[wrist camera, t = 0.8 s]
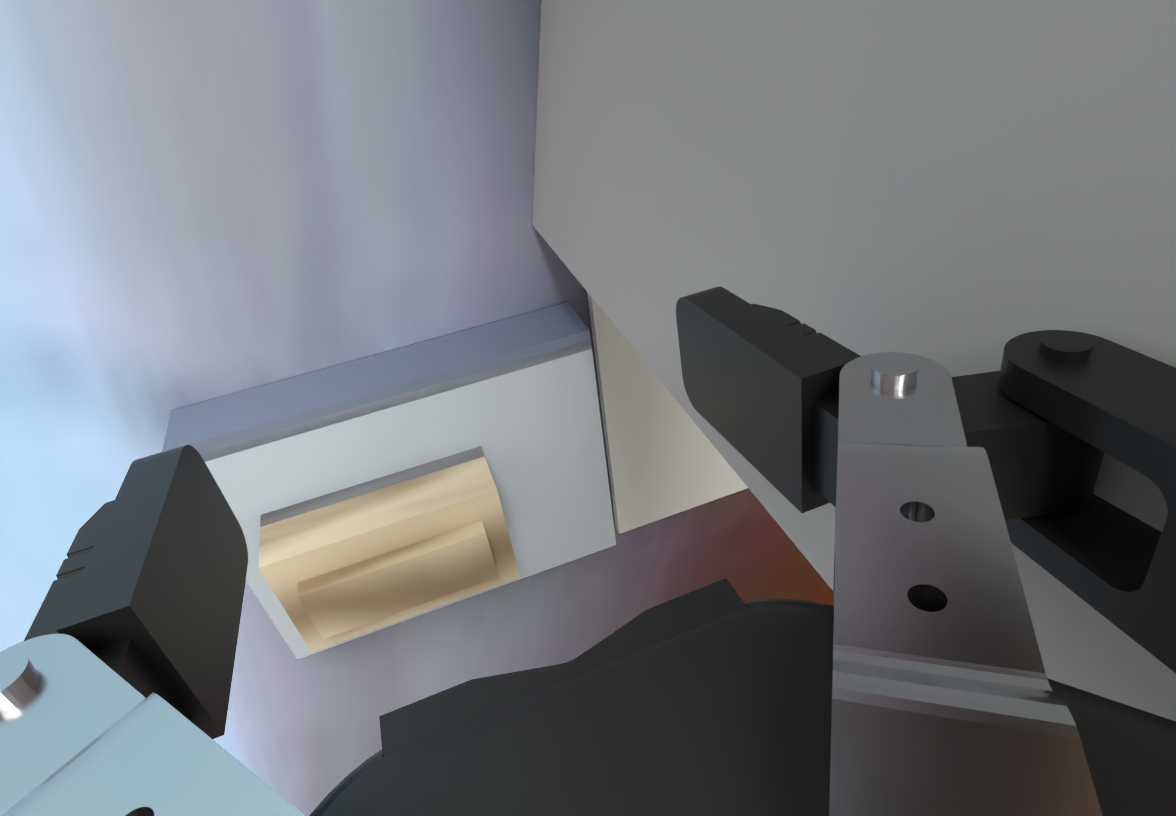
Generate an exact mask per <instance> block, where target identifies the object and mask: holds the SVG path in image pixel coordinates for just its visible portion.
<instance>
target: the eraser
mask: <svg viewBox="0 0 1176 816" xmlns="http://www.w3.org/2000/svg"><path fill="white" fill-rule="evenodd" d="M259 569H260V571H261V572H262V574H263V576H264V577H265V579H266V580H267V582H268V584H269V585H270V587H271V588H272V590H273V592H274V593H275V595H276V596H277V598H278V600H279V601H280V603H281V604H282V606H283V608H284V609H285V611H286V612H287V614H288V616H289V617H290V619H291V620H292V622H293V624H294V625H295V627H296V628H297V630H298V632H299V633H300V635H301V637H302V638H303V640H304V641H305V643H306V645H307V646H308V648H309V649H310V651H311V652H313V651H316V650H319V649H322V648H325V647H327V646H330V645H333V644H336V643H338V642H341V641H344V640H347V639H350V638H352V637H355V636H358V635H361V634H364V633H366V632H369V631H372V630H375V629H377V628H380V627H383V626H386V625H389V624H391V623H394V622H397V621H400V620H403V619H405V618H408V617H411V616H414V615H416V614H419V613H422V612H425V611H428V610H430V609H433V608H436V607H439V606H442V605H444V604H447V603H450V602H453V601H455V600H458V599H461V598H464V597H467V596H469V595H472V594H475V593H478V592H481V591H483V590H486V589H489V588H492V587H494V586H497V585H500V584H503V583H506V582H508V581H511V580H514V579H517V578H520V574H519V571H518V567H517V563H516V559H515V555H514V552H513V548H512V544H511V540H510V537H509V533H508V529H507V525H506V521H505V518H504V514H503V510H502V506H501V503H500V499H499V495H498V491H497V488H496V485H495V483H494V480H493V477H492V475H491V472H490V469H489V467H488V464H487V461H486V459H485V456H484V454H483V451H482V448H481V446H479V447H476V448H473V449H470V450H467V451H463V452H460V453H457V454H454V455H451V456H447V457H444V458H441V459H438V460H435V461H431V462H428V463H425V464H422V465H419V466H415V467H412V468H409V469H406V470H403V471H399V472H396V473H393V474H390V475H387V476H383V477H380V478H377V479H374V480H371V481H367V482H364V483H361V484H358V485H355V486H351V487H348V488H345V489H342V490H339V491H335V492H332V493H329V494H326V495H323V496H319V497H316V498H313V499H310V500H307V501H303V502H300V503H297V504H294V505H291V506H287V507H284V508H281V509H278V510H275V511H271V512H268V513H265V514H262V515H261V517H260V544H259Z"/></svg>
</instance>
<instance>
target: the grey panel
mask: <svg viewBox="0 0 1176 816" xmlns="http://www.w3.org/2000/svg"><path fill="white" fill-rule="evenodd" d="M532 225H533V226H534V228H535V229H536V230H537V231H538V233H539V234H540V235H541V236H542V237H543V239H544V240H545V241H546V242H547V243H548V245H549V246H550V247H551V248H552V250H553V251H554V252H555V253H556V254H557V256H558V257H559V258H560V259H561V261H562V262H563V263H564V264H565V265H566V267H567V268H568V269H569V270H570V271H571V273H572V274H573V275H574V276H575V278H576V279H577V280H578V281H579V282H580V284H581V285H582V286H583V287H584V288H585V290H586V291H587V292H588V293H589V295H590V296H591V297H592V298H593V299H594V301H595V302H596V303H597V304H598V306H599V307H600V308H601V309H602V310H603V312H604V313H605V314H606V315H607V316H608V318H609V319H610V320H611V321H612V323H613V324H614V325H615V326H616V327H617V329H618V330H619V331H620V332H621V334H622V335H623V336H624V337H625V338H626V340H627V341H628V342H629V343H630V344H631V346H632V347H633V348H634V349H635V351H636V352H637V353H638V354H639V355H640V357H641V358H642V359H643V360H644V361H645V363H646V364H647V365H648V366H649V368H650V369H651V370H652V371H653V372H654V374H655V375H656V376H657V377H658V379H659V380H660V381H661V382H662V383H663V385H664V386H665V387H666V388H667V389H668V391H669V392H670V393H671V394H672V396H673V397H674V398H675V399H676V400H677V402H678V403H679V404H680V405H681V407H682V408H683V409H684V410H685V411H686V413H687V414H688V415H689V416H690V417H691V419H692V420H693V421H694V422H695V424H696V425H697V426H698V427H699V428H700V430H701V431H702V432H703V433H704V435H705V436H706V437H707V438H708V439H709V441H710V442H711V443H712V444H713V445H714V447H715V448H716V449H717V450H718V452H719V453H720V454H721V455H722V456H723V458H724V459H725V460H726V461H727V462H728V464H729V465H730V466H731V467H732V469H733V470H734V471H735V472H736V473H737V475H738V476H739V477H740V478H741V480H742V481H743V482H744V483H745V484H746V486H747V487H748V488H749V489H750V490H751V492H752V493H753V494H754V495H755V497H756V498H757V499H758V500H759V501H760V503H761V504H762V505H763V506H764V508H765V509H766V510H767V511H768V512H769V514H770V515H771V516H772V517H773V518H774V520H775V521H776V522H777V523H778V525H779V526H780V527H781V528H782V529H783V531H784V532H785V533H786V534H787V535H788V537H789V538H790V539H791V540H792V542H793V543H794V544H795V545H796V546H797V548H798V549H799V550H800V551H801V553H802V554H803V555H804V556H805V557H806V559H807V560H808V561H809V562H810V563H811V565H812V566H813V567H814V568H815V570H816V571H817V572H818V573H819V574H820V576H821V577H822V578H823V579H824V581H825V582H826V583H827V584H828V585H829V587H830V588H831V589H832V590H833V582H834V544H835V509H836V507H834V506H833V505H832V504H831V503H828V504H825V505H823V506H820V507H817V508H815V509H812V510H810V511H807V512H805V513H801V512H800V511H799V510H798V509H797V508H796V507H795V506H793V505H792V504H791V503H790V502H789V501H788V500H787V499H786V498H785V497H784V496H783V495H782V494H781V493H780V492H779V491H778V490H777V489H776V488H775V487H774V486H773V485H772V484H771V483H770V482H769V481H768V480H767V479H766V478H765V477H764V476H763V475H762V474H761V473H760V472H759V471H758V470H757V469H756V468H755V467H753V466H752V465H751V464H750V463H749V462H748V461H747V460H746V459H745V458H744V457H743V456H742V455H741V454H740V453H739V452H738V451H737V450H736V449H735V448H734V447H733V446H732V445H731V444H730V443H729V442H728V441H727V440H726V439H725V438H724V437H723V436H722V435H721V434H720V433H719V432H718V431H717V430H716V429H715V428H713V427H712V426H711V425H710V424H709V423H708V422H707V421H706V420H705V419H704V418H703V417H702V416H701V415H700V414H699V413H698V412H697V411H696V410H695V408H694V407H693V406H692V404H691V402H690V400H689V398H688V396H687V393H686V390H685V387H684V383H683V377H682V368H681V358H680V349H679V340H678V330H677V321H676V304H677V301H678V299H679V298H681V297H684V296H688V295H691V294H694V293H698V292H701V291H704V290H708V289H711V288H714V287H718V286H721V287H723V288H725V289H726V290H728V291H730V292H731V293H733V294H735V295H736V296H738V297H740V298H741V299H743V300H745V301H746V302H748V303H750V304H758V305H762V306H767V307H771V308H775V309H779V310H782V311H784V312H786V313H787V314H789V315H791V316H793V317H794V318H796V319H798V320H799V321H800V323H801V324H803V323H805V324H806V325H808V326H810V327H812V328H813V329H815V330H816V332H817V333H819V332H820V333H822V334H824V335H825V336H827V337H829V338H831V339H832V340H834V341H836V342H838V343H839V344H841V345H843V346H845V347H846V348H848V349H850V350H851V351H853V352H855V353H857V354H858V355H860V356H864V355H869V354H873V353H882V352H902V353H910V354H915V355H920V356H923V357H927V358H929V359H932V360H934V361H936V362H938V363H940V364H941V365H943V366H944V367H945V368H946V369H947V370H948V371H949V373H950V375H951V377H956V376H963V375H971V374H978V373H986V372H994V371H1000V369H1001V364H1002V358H1003V352H1004V346H1005V345H1006V343H1007V342H1008V341H1009V340H1010V339H1012V338H1014V337H1016V336H1018V335H1021V334H1024V333H1028V332H1034V331H1042V330H1066V331H1076V332H1082V333H1087V334H1092V335H1095V336H1099V337H1102V338H1105V339H1107V340H1110V341H1112V342H1115V343H1117V344H1120V345H1122V346H1124V347H1127V348H1129V349H1132V350H1134V351H1136V352H1139V353H1141V354H1144V355H1146V356H1149V357H1151V358H1153V359H1156V360H1158V361H1161V362H1163V363H1165V364H1168V365H1170V366H1173V367H1175V368H1176V0H541V19H540V43H539V67H538V91H537V116H536V140H535V164H534V188H533V213H532ZM1093 494H1095V495H1096V496H1098V497H1100V498H1102V499H1104V500H1105V501H1107V502H1109V503H1111V504H1112V505H1114V506H1116V507H1118V508H1120V509H1121V510H1123V511H1125V512H1127V513H1129V514H1130V515H1132V516H1134V517H1136V518H1137V519H1139V520H1141V521H1143V522H1145V523H1146V524H1148V525H1150V526H1152V527H1153V528H1155V529H1157V530H1159V531H1161V532H1162V530H1163V528H1164V525H1165V522H1166V519H1167V515H1168V508H1167V503H1166V500H1165V498H1164V496H1163V494H1162V492H1161V491H1160V489H1159V488H1158V487H1157V486H1156V484H1155V483H1154V482H1153V481H1151V480H1150V479H1149V478H1148V477H1146V476H1145V475H1143V474H1141V473H1139V472H1138V471H1136V470H1134V469H1132V468H1131V467H1129V466H1127V465H1125V464H1124V463H1122V462H1120V461H1118V460H1117V459H1115V458H1113V457H1111V456H1110V455H1108V454H1106V453H1104V456H1103V459H1102V463H1101V467H1100V470H1099V474H1098V477H1097V481H1096V484H1095V488H1094V492H1093ZM1011 545H1012V549H1013V553H1014V556H1015V560H1016V564H1017V568H1018V571H1019V575H1020V579H1021V583H1022V586H1023V590H1024V594H1025V598H1026V601H1027V605H1028V609H1029V613H1030V616H1031V620H1032V624H1033V628H1034V631H1035V635H1036V639H1037V643H1038V646H1039V650H1040V654H1041V658H1042V661H1043V665H1044V669H1045V673H1046V676H1047V678H1049V679H1052V680H1055V681H1058V682H1061V683H1064V684H1066V685H1069V686H1072V687H1075V688H1078V689H1081V690H1084V691H1087V692H1090V693H1093V694H1096V695H1099V696H1102V697H1105V698H1108V699H1111V700H1114V701H1117V702H1120V703H1123V704H1126V705H1129V706H1131V707H1134V708H1137V709H1140V710H1143V711H1146V712H1149V713H1152V714H1155V715H1158V716H1161V717H1164V718H1167V719H1170V720H1173V721H1176V673H1174V672H1173V671H1172V670H1171V669H1169V668H1168V667H1167V666H1166V665H1164V664H1163V663H1162V662H1161V661H1159V660H1158V659H1157V658H1156V657H1154V656H1153V655H1152V654H1151V653H1149V652H1148V651H1147V650H1146V649H1144V648H1143V647H1142V646H1140V645H1139V644H1138V643H1137V642H1135V641H1134V640H1133V639H1132V638H1130V637H1129V636H1128V635H1127V634H1125V633H1124V632H1123V631H1122V630H1120V629H1119V628H1118V627H1117V626H1115V625H1114V624H1113V623H1111V622H1110V621H1109V620H1108V619H1106V618H1105V617H1104V616H1103V615H1101V614H1100V613H1099V612H1098V611H1096V610H1095V609H1094V608H1093V607H1091V606H1090V605H1089V604H1088V603H1086V602H1085V601H1084V600H1082V599H1081V598H1080V597H1079V596H1077V595H1076V594H1075V593H1074V592H1072V591H1071V590H1070V589H1069V588H1067V587H1066V586H1065V585H1064V584H1062V583H1061V582H1060V581H1059V580H1057V579H1056V578H1055V577H1053V576H1052V575H1051V574H1050V573H1048V572H1047V571H1046V570H1045V569H1043V568H1042V567H1041V566H1040V565H1038V564H1037V563H1036V562H1035V561H1033V560H1032V559H1031V558H1030V557H1028V556H1027V555H1026V554H1024V553H1023V552H1022V551H1021V550H1019V549H1018V548H1017V547H1016V546H1014V545H1013V544H1012V543H1011Z"/></svg>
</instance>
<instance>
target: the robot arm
mask: <svg viewBox="0 0 1176 816" xmlns="http://www.w3.org/2000/svg"><path fill="white" fill-rule="evenodd" d="M676 321H677V330H678V340H679V349H680V358H681V368H682V377H683V383H684V387H685V390H686V393H687V396H688V398H689V400H690V402H691V404H692V406H693V407H694V408H695V410H696V411H697V412H698V413H699V414H700V415H701V416H702V417H703V418H704V419H705V420H706V421H707V422H708V423H709V424H710V425H711V426H712V427H713V428H715V429H716V430H717V431H718V432H719V433H720V434H721V435H722V436H723V437H724V438H725V439H726V440H727V441H728V442H729V443H730V444H731V445H732V446H733V447H734V448H735V449H736V450H737V451H738V452H739V453H740V454H741V455H742V456H743V457H744V458H745V459H746V460H747V461H748V462H749V463H750V464H751V465H752V466H753V467H755V468H756V469H757V470H758V471H759V472H760V473H761V474H762V475H763V476H764V477H765V478H766V479H767V480H768V481H769V482H770V483H771V484H772V485H773V486H774V487H775V488H776V489H777V490H778V491H779V492H780V493H781V494H782V495H783V496H784V497H785V498H786V499H787V500H788V501H789V502H790V503H791V504H792V505H793V506H795V507H796V508H797V509H798V510H799V511H800V512H801V513H805V512H807V511H810V510H812V509H815V508H817V507H820V506H823V505H825V504H828V503H831V504H832V505H833V506H834V507H836V509H835V544H834V582H833V606H830V605H825V604H821V603H817V602H810V601H802V600H793V599H763V600H751V601H745V602H743V601H742V599H741V598H740V597H739V595H738V594H737V593H736V591H735V590H734V589H733V587H732V586H731V585H730V583H729V582H728V581H727V579H726V578H725V579H723V580H720V581H718V582H715V583H713V584H710V585H708V586H705V587H703V588H700V589H698V590H695V591H693V592H690V593H688V594H685V595H683V596H680V597H678V598H675V599H673V600H670V601H668V602H665V603H663V604H660V605H658V606H655V607H653V608H650V609H648V610H646V611H645V612H643V613H642V614H640V615H639V616H637V617H636V618H634V619H633V620H631V621H630V622H629V623H627V624H626V625H624V626H623V627H621V628H620V629H618V630H617V631H615V632H614V633H612V634H611V635H609V636H608V637H607V638H605V639H604V640H602V641H601V642H599V643H598V644H596V645H595V646H593V647H592V648H590V649H589V650H587V651H586V652H585V653H583V654H582V655H580V656H579V657H577V658H575V659H574V660H572V661H569V662H567V663H563V664H559V665H553V666H547V667H542V668H536V669H530V670H524V671H519V672H513V673H507V674H501V675H496V676H490V677H484V678H478V679H473V680H470V681H467V682H465V683H462V684H460V685H457V686H455V687H452V688H450V689H447V690H445V691H442V692H440V693H437V694H435V695H432V696H430V697H427V698H425V699H422V700H419V701H417V702H414V703H412V704H409V705H407V706H404V707H402V708H399V709H397V710H394V711H392V712H389V713H387V714H384V715H382V716H379V717H380V728H381V739H382V749H381V750H380V751H378V752H377V753H376V754H374V755H373V756H371V757H370V758H369V759H367V760H366V761H365V762H364V763H362V764H361V765H360V766H359V767H357V768H356V769H355V770H354V771H352V772H351V773H350V774H349V775H348V776H347V777H346V778H345V779H344V780H343V781H341V782H340V783H339V784H338V785H337V786H336V787H335V788H334V789H333V790H332V791H331V792H330V793H329V794H328V795H327V796H326V797H325V799H324V800H323V801H322V802H321V803H320V804H319V805H318V807H317V808H316V809H315V810H314V811H313V812H312V813H311V814H310V816H1176V721H1173V720H1170V719H1167V718H1164V717H1161V716H1158V715H1155V714H1152V713H1149V712H1146V711H1143V710H1140V709H1137V708H1134V707H1131V706H1129V705H1126V704H1123V703H1120V702H1117V701H1114V700H1111V699H1108V698H1105V697H1102V696H1099V695H1096V694H1093V693H1090V692H1087V691H1084V690H1081V689H1078V688H1075V687H1072V686H1069V685H1066V684H1064V683H1061V682H1058V681H1055V680H1052V679H1049V678H1047V676H1046V673H1045V669H1044V665H1043V661H1042V658H1041V654H1040V650H1039V646H1038V643H1037V639H1036V635H1035V631H1034V628H1033V624H1032V620H1031V616H1030V613H1029V609H1028V605H1027V601H1026V598H1025V594H1024V590H1023V586H1022V583H1021V579H1020V575H1019V571H1018V568H1017V564H1016V560H1015V556H1014V553H1013V549H1012V545H1011V543H1012V544H1013V545H1014V546H1016V547H1017V548H1018V549H1019V550H1021V551H1022V552H1023V553H1024V554H1026V555H1027V556H1028V557H1030V558H1031V559H1032V560H1033V561H1035V562H1036V563H1037V564H1038V565H1040V566H1041V567H1042V568H1043V569H1045V570H1046V571H1047V572H1048V573H1050V574H1051V575H1052V576H1053V577H1055V578H1056V579H1057V580H1059V581H1060V582H1061V583H1062V584H1064V585H1065V586H1066V587H1067V588H1069V589H1070V590H1071V591H1072V592H1074V593H1075V594H1076V595H1077V596H1079V597H1080V598H1081V599H1082V600H1084V601H1085V602H1086V603H1088V604H1089V605H1090V606H1091V607H1093V608H1094V609H1095V610H1096V611H1098V612H1099V613H1100V614H1101V615H1103V616H1104V617H1105V618H1106V619H1108V620H1109V621H1110V622H1111V623H1113V624H1114V625H1115V626H1117V627H1118V628H1119V629H1120V630H1122V631H1123V632H1124V633H1125V634H1127V635H1128V636H1129V637H1130V638H1132V639H1133V640H1134V641H1135V642H1137V643H1138V644H1139V645H1140V646H1142V647H1143V648H1144V649H1146V650H1147V651H1148V652H1149V653H1151V654H1152V655H1153V656H1154V657H1156V658H1157V659H1158V660H1159V661H1161V662H1162V663H1163V664H1164V665H1166V666H1167V667H1168V668H1169V669H1171V670H1172V671H1173V672H1174V673H1176V368H1175V367H1173V366H1170V365H1168V364H1165V363H1163V362H1161V361H1158V360H1156V359H1153V358H1151V357H1149V356H1146V355H1144V354H1141V353H1139V352H1136V351H1134V350H1132V349H1129V348H1127V347H1124V346H1122V345H1120V344H1117V343H1115V342H1112V341H1110V340H1107V339H1105V338H1102V337H1099V336H1095V335H1092V334H1087V333H1082V332H1076V331H1066V330H1042V331H1034V332H1028V333H1024V334H1021V335H1018V336H1016V337H1014V338H1012V339H1010V340H1009V341H1008V342H1007V343H1006V345H1005V346H1004V352H1003V358H1002V364H1001V369H1000V371H994V372H986V373H978V374H971V375H963V376H956V377H951V375H950V373H949V371H948V370H947V369H946V368H945V367H944V366H943V365H941V364H940V363H938V362H936V361H934V360H932V359H929V358H927V357H923V356H920V355H915V354H910V353H902V352H882V353H873V354H869V355H864V356H860V355H858V354H857V353H855V352H853V351H851V350H850V349H848V348H846V347H845V346H843V345H841V344H839V343H838V342H836V341H834V340H832V339H831V338H829V337H827V336H825V335H824V334H822V333H820V332H819V333H817V332H816V330H815V329H813V328H812V327H810V326H808V325H806V324H805V323H803V324H801V323H800V321H799V320H798V319H796V318H794V317H793V316H791V315H789V314H787V313H786V312H784V311H782V310H779V309H775V308H771V307H767V306H762V305H758V304H750V303H748V302H746V301H745V300H743V299H741V298H740V297H738V296H736V295H735V294H733V293H731V292H730V291H728V290H726V289H725V288H723V287H721V286H718V287H714V288H711V289H708V290H704V291H701V292H698V293H694V294H691V295H688V296H684V297H681V298H679V299H678V301H677V304H676ZM1104 453H1106V454H1108V455H1110V456H1111V457H1113V458H1115V459H1117V460H1118V461H1120V462H1122V463H1124V464H1125V465H1127V466H1129V467H1131V468H1132V469H1134V470H1136V471H1138V472H1139V473H1141V474H1143V475H1145V476H1146V477H1148V478H1149V479H1150V480H1151V481H1153V482H1154V483H1155V484H1156V486H1157V487H1158V488H1159V489H1160V491H1161V492H1162V494H1163V496H1164V498H1165V500H1166V503H1167V508H1168V515H1167V519H1166V522H1165V525H1164V528H1163V530H1162V532H1161V531H1159V530H1157V529H1155V528H1153V527H1152V526H1150V525H1148V524H1146V523H1145V522H1143V521H1141V520H1139V519H1137V518H1136V517H1134V516H1132V515H1130V514H1129V513H1127V512H1125V511H1123V510H1121V509H1120V508H1118V507H1116V506H1114V505H1112V504H1111V503H1109V502H1107V501H1105V500H1104V499H1102V498H1100V497H1098V496H1096V495H1095V494H1093V492H1094V488H1095V484H1096V481H1097V477H1098V474H1099V470H1100V467H1101V463H1102V459H1103V456H1104ZM67 556H68V559H65V560H64V561H63V563H62V565H61V567H60V569H59V571H58V573H57V575H56V576H57V578H58V580H55V581H53V583H52V585H51V587H50V589H49V591H48V593H47V595H46V597H45V599H44V601H43V603H42V605H41V607H40V610H39V612H38V614H37V616H36V618H35V620H34V622H33V624H32V626H31V628H30V630H29V632H28V634H27V636H26V638H25V640H24V641H23V642H21V643H18V644H16V645H14V646H12V647H9V648H7V649H6V650H4V651H2V652H0V816H305V815H304V814H302V813H301V812H300V811H299V810H298V809H296V808H295V807H294V806H293V805H292V804H290V803H289V802H288V801H287V800H285V799H284V798H283V797H282V796H281V795H279V794H278V793H277V792H276V791H275V790H273V789H272V788H271V787H270V786H268V785H267V784H266V783H265V782H264V781H262V780H261V779H260V778H259V777H258V776H256V775H255V774H254V773H253V772H251V771H250V770H249V769H248V768H247V767H245V766H244V765H243V764H242V763H241V762H239V761H238V760H237V759H236V758H234V757H233V756H232V755H231V754H230V753H228V752H227V751H226V750H225V749H224V748H222V747H221V746H220V745H219V744H217V743H216V742H215V741H214V740H213V739H214V738H217V737H219V736H222V735H224V731H225V724H226V717H227V710H228V703H229V695H230V688H231V681H232V674H233V667H234V659H235V652H236V645H237V638H238V631H239V624H240V616H241V609H242V602H243V595H244V588H245V581H246V573H247V566H248V550H247V544H246V540H245V537H244V534H243V531H242V528H241V526H240V524H239V522H238V520H237V518H236V517H235V515H234V513H233V511H232V510H231V508H230V506H229V504H228V502H227V501H226V499H225V497H224V495H223V494H222V492H221V490H220V488H219V486H218V485H217V483H216V481H215V479H214V478H213V476H212V474H211V472H210V470H209V469H208V467H207V465H206V463H205V462H204V460H203V458H202V457H201V455H200V454H199V452H198V451H197V450H196V449H195V448H194V447H193V446H191V445H185V446H181V447H178V448H175V449H171V450H168V451H165V452H161V453H158V454H155V455H151V456H148V457H145V458H141V459H138V460H135V461H133V462H132V464H131V466H130V468H129V470H128V472H127V475H126V477H125V479H124V481H123V484H122V486H121V488H120V490H119V492H118V495H117V497H116V499H115V500H114V501H111V502H108V503H105V504H104V505H103V506H102V507H101V508H100V509H99V510H98V511H97V512H96V513H95V514H94V515H93V516H92V517H91V518H90V519H89V520H88V521H87V522H86V523H85V524H84V525H83V526H82V527H81V528H80V529H79V531H78V533H77V535H76V537H75V539H74V541H73V543H72V545H71V547H70V549H69V551H68V553H67Z"/></svg>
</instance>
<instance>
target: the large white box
mask: <svg viewBox="0 0 1176 816" xmlns="http://www.w3.org/2000/svg"><path fill="white" fill-rule="evenodd" d="M185 445H191V446H193V447H194V448H195V449H196V450H197V451H198V452H199V454H200V455H201V457H202V458H203V460H204V462H205V463H206V465H207V467H208V469H209V470H210V472H211V474H212V476H213V478H214V479H215V481H216V483H217V485H218V486H219V488H220V490H221V492H222V494H223V495H224V497H225V499H226V501H227V502H228V504H229V506H230V508H231V510H232V511H233V513H234V515H235V517H236V518H237V520H238V522H239V524H240V526H241V528H242V531H243V534H244V537H245V540H246V544H247V550H248V566H247V573H246V581H247V583H248V585H249V586H250V588H251V589H252V591H253V592H254V594H255V595H256V597H257V598H258V600H259V601H260V603H261V604H262V606H263V607H264V609H265V611H266V612H267V614H268V615H269V617H270V618H271V620H272V621H273V623H274V624H275V626H276V627H277V629H278V630H279V632H280V634H281V635H282V637H283V638H284V640H285V641H286V643H287V644H288V646H289V647H290V649H291V650H292V652H293V653H294V655H295V657H296V658H297V660H298V659H300V658H303V657H306V656H309V655H312V654H314V653H317V652H320V651H323V650H325V649H328V648H331V647H334V646H337V645H339V644H342V643H345V642H348V641H351V640H353V639H356V638H359V637H362V636H364V635H367V634H370V633H373V632H376V631H378V630H381V629H384V628H387V627H389V626H392V625H395V624H398V623H401V622H403V621H406V620H409V619H412V618H414V617H417V616H420V615H423V614H426V613H428V612H431V611H434V610H437V609H439V608H442V607H445V606H448V605H451V604H453V603H456V602H459V601H462V600H464V599H467V598H470V597H473V596H476V595H478V594H481V593H484V592H487V591H490V590H492V589H495V588H498V587H501V586H503V585H506V584H509V583H512V582H515V581H517V580H520V579H523V578H526V577H528V576H531V575H534V574H537V573H540V572H542V571H545V570H548V569H551V568H553V567H556V566H559V565H562V564H565V563H567V562H570V561H573V560H576V559H578V558H581V557H584V556H587V555H590V554H592V553H595V552H598V551H601V550H603V549H606V548H609V547H612V546H615V545H616V539H615V531H614V523H613V515H612V507H611V498H610V490H609V482H608V474H607V466H606V458H605V450H604V442H603V434H602V426H601V418H600V410H599V402H598V393H597V385H596V377H595V369H594V361H593V353H592V345H591V337H590V330H589V329H588V327H587V326H586V325H585V323H584V322H583V321H582V319H581V318H580V317H579V315H578V314H577V313H576V311H575V310H574V309H573V307H572V306H571V305H570V303H569V302H565V303H561V304H558V305H554V306H550V307H547V308H543V309H540V310H536V311H532V312H529V313H525V314H521V315H518V316H514V317H510V318H507V319H503V320H499V321H496V322H492V323H488V324H485V325H481V326H478V327H474V328H470V329H467V330H463V331H459V332H456V333H452V334H448V335H445V336H441V337H437V338H434V339H430V340H426V341H423V342H419V343H416V344H412V345H408V346H405V347H401V348H397V349H394V350H390V351H386V352H383V353H379V354H375V355H372V356H368V357H364V358H361V359H357V360H354V361H350V362H346V363H343V364H339V365H335V366H332V367H328V368H324V369H321V370H317V371H313V372H310V373H306V374H302V375H299V376H295V377H292V378H288V379H284V380H281V381H277V382H273V383H270V384H266V385H262V386H259V387H255V388H251V389H248V390H244V391H240V392H237V393H233V394H230V395H226V396H222V397H219V398H215V399H211V400H208V401H204V402H200V403H197V404H193V405H189V406H186V407H182V408H178V409H175V410H172V411H171V416H170V420H169V424H168V429H167V433H166V437H165V442H164V446H163V451H162V452H165V451H168V450H171V449H175V448H178V447H181V446H185ZM479 446H481V448H482V451H483V454H484V456H485V459H486V461H487V464H488V467H489V469H490V472H491V475H492V477H493V480H494V483H495V485H496V488H497V491H498V495H499V499H500V503H501V506H502V510H503V514H504V518H505V521H506V525H507V529H508V533H509V537H510V540H511V544H512V548H513V552H514V555H515V559H516V563H517V567H518V571H519V574H520V578H517V579H514V580H511V581H508V582H506V583H503V584H500V585H497V586H494V587H492V588H489V589H486V590H483V591H481V592H478V593H475V594H472V595H469V596H467V597H464V598H461V599H458V600H455V601H453V602H450V603H447V604H444V605H442V606H439V607H436V608H433V609H430V610H428V611H425V612H422V613H419V614H416V615H414V616H411V617H408V618H405V619H403V620H400V621H397V622H394V623H391V624H389V625H386V626H383V627H380V628H377V629H375V630H372V631H369V632H366V633H364V634H361V635H358V636H355V637H352V638H350V639H347V640H344V641H341V642H338V643H336V644H333V645H330V646H327V647H325V648H322V649H319V650H316V651H313V652H311V651H310V649H309V648H308V646H307V645H306V643H305V641H304V640H303V638H302V637H301V635H300V633H299V632H298V630H297V628H296V627H295V625H294V624H293V622H292V620H291V619H290V617H289V616H288V614H287V612H286V611H285V609H284V608H283V606H282V604H281V603H280V601H279V600H278V598H277V596H276V595H275V593H274V592H273V590H272V588H271V587H270V585H269V584H268V582H267V580H266V579H265V577H264V576H263V574H262V572H261V571H260V569H259V544H260V517H261V515H262V514H265V513H268V512H271V511H275V510H278V509H281V508H284V507H287V506H291V505H294V504H297V503H300V502H303V501H307V500H310V499H313V498H316V497H319V496H323V495H326V494H329V493H332V492H335V491H339V490H342V489H345V488H348V487H351V486H355V485H358V484H361V483H364V482H367V481H371V480H374V479H377V478H380V477H383V476H387V475H390V474H393V473H396V472H399V471H403V470H406V469H409V468H412V467H415V466H419V465H422V464H425V463H428V462H431V461H435V460H438V459H441V458H444V457H447V456H451V455H454V454H457V453H460V452H463V451H467V450H470V449H473V448H476V447H479Z"/></svg>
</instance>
